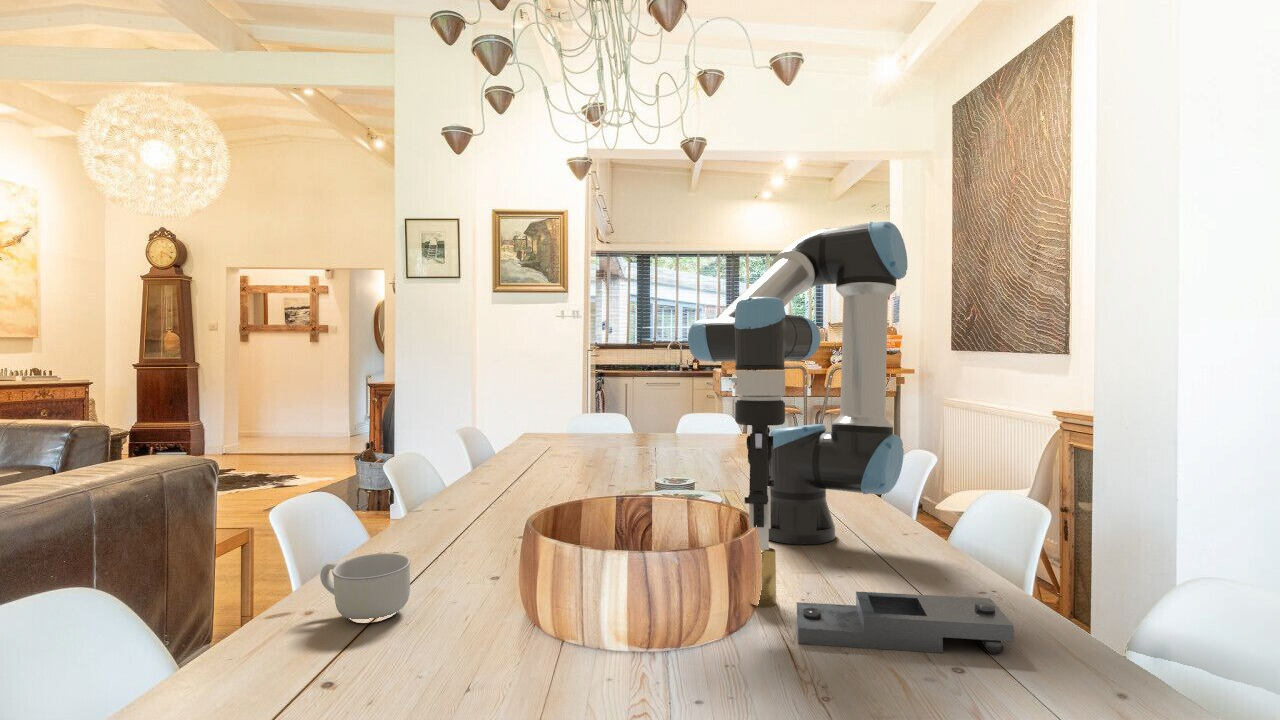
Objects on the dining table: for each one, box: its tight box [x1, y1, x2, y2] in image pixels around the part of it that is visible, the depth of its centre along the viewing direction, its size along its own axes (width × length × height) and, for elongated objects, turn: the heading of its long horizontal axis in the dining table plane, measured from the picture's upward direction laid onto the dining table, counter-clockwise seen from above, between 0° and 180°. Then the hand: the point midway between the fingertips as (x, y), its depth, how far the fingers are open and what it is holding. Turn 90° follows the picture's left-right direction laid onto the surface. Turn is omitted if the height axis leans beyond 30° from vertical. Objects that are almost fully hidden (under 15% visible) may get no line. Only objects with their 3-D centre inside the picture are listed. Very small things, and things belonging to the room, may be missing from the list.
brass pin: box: [758, 547, 777, 608], centre depth 108 cm, size 4×4×8 cm
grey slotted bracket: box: [796, 591, 1015, 656], centre depth 94 cm, size 10×26×5 cm, turn 78°
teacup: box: [319, 552, 411, 619], centre depth 105 cm, size 14×11×8 cm
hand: (760, 538), depth 107 cm, fingers open, 13 cm apart
